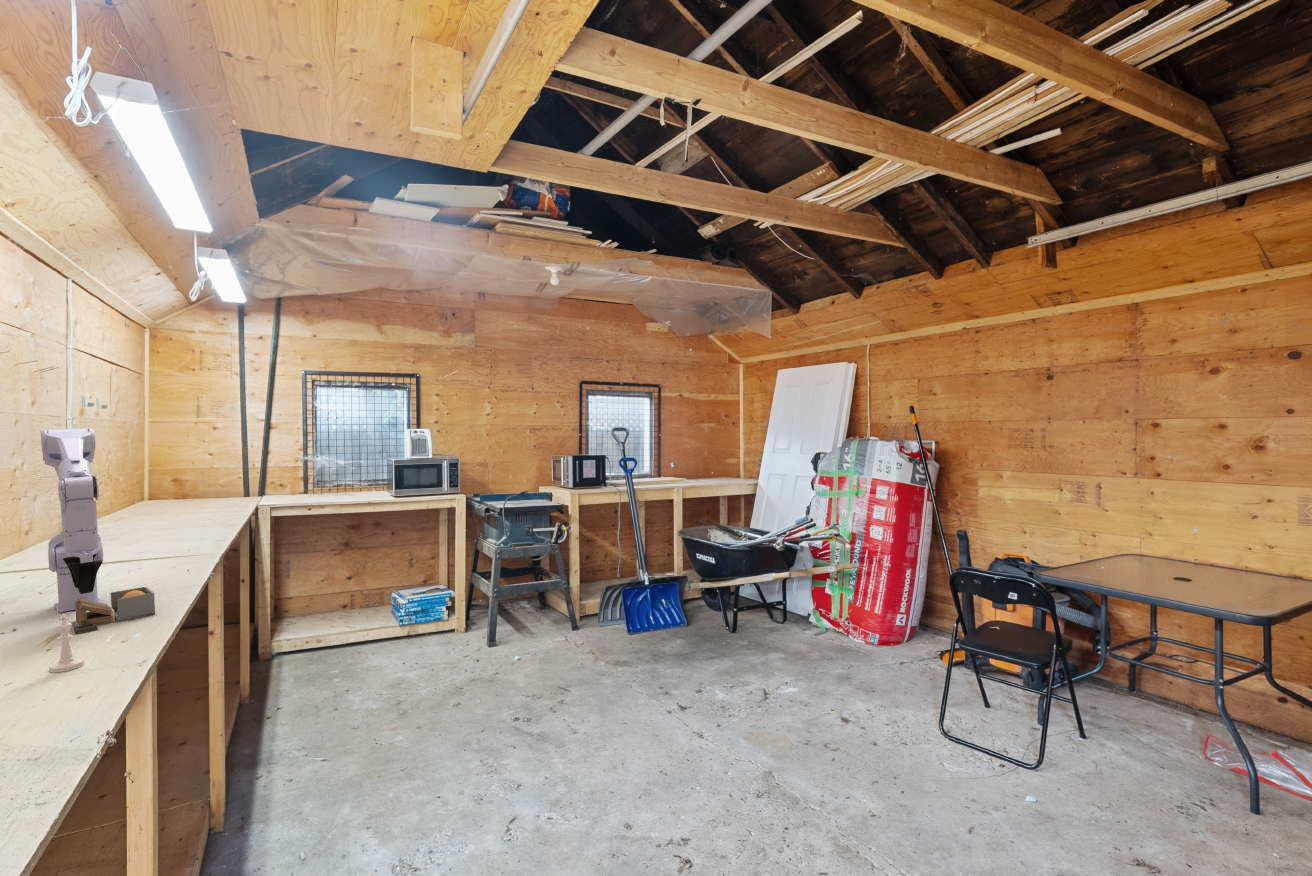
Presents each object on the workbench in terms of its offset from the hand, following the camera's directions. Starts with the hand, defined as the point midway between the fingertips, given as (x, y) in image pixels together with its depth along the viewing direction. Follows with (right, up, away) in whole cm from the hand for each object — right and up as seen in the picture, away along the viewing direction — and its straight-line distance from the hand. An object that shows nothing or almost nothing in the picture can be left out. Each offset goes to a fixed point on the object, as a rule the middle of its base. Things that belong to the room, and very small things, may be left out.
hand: (83, 589), depth 145 cm
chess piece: (+19, -9, -25) cm, 33 cm away
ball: (+6, -4, +7) cm, 10 cm away
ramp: (+1, -8, +2) cm, 8 cm away
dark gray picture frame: (+4, -8, -5) cm, 10 cm away
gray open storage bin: (+6, -7, +7) cm, 11 cm away
